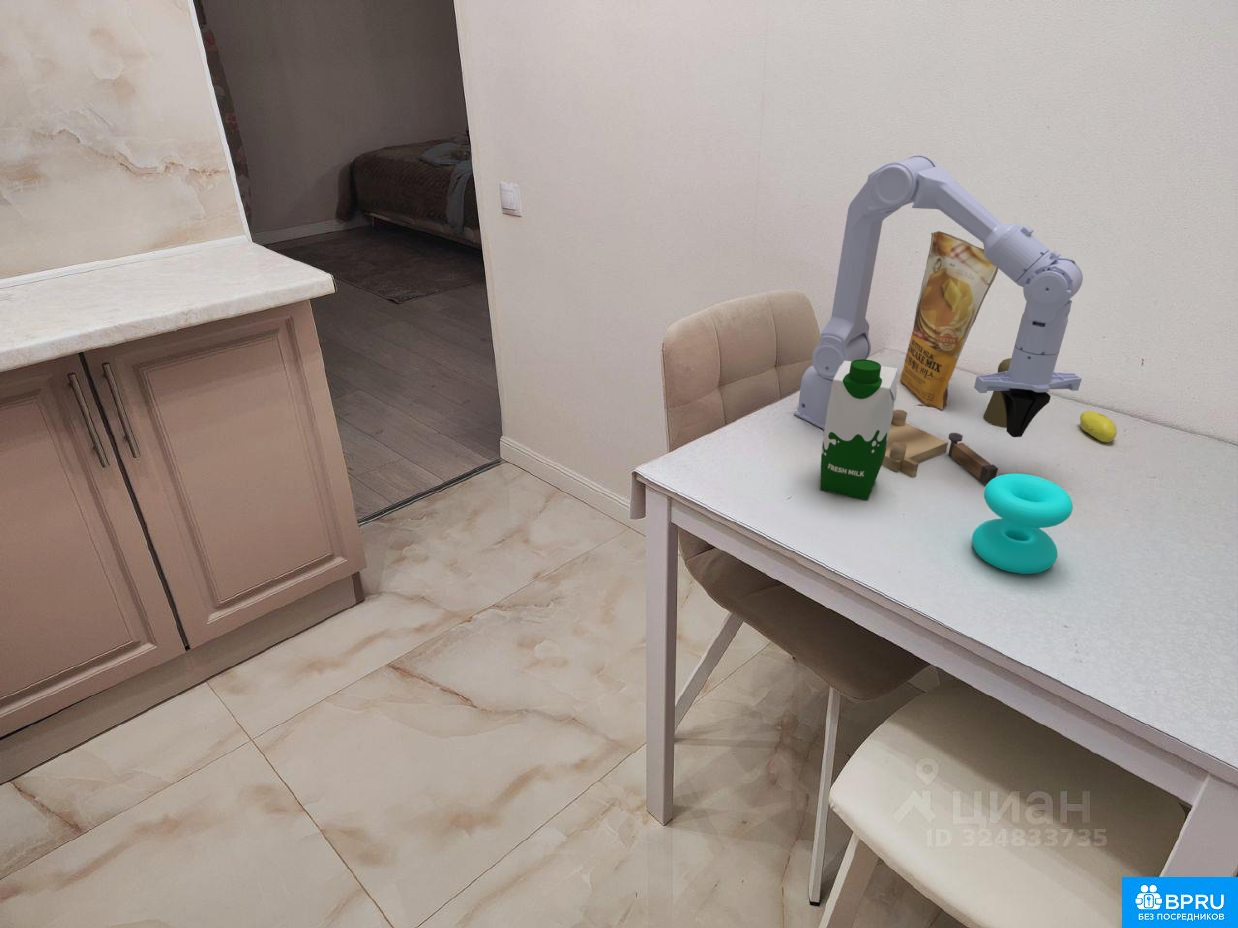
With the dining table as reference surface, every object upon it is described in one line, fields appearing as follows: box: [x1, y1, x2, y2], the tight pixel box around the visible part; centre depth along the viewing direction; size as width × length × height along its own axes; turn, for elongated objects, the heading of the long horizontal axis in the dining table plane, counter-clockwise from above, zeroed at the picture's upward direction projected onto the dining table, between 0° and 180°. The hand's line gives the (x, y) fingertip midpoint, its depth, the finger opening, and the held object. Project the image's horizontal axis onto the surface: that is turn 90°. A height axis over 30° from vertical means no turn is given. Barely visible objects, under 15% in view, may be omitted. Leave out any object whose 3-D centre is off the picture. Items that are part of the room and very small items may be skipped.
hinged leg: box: [950, 442, 999, 485], centre depth 121 cm, size 9×2×2 cm, turn 13°
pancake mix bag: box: [900, 230, 999, 411], centre depth 141 cm, size 7×19×28 cm, turn 6°
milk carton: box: [819, 359, 898, 501], centre depth 113 cm, size 9×9×20 cm
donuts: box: [971, 473, 1073, 575], centre depth 100 cm, size 10×10×10 cm
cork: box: [982, 357, 1012, 429], centre depth 135 cm, size 6×6×11 cm
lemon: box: [1079, 410, 1118, 443], centre depth 131 cm, size 4×8×4 cm, turn 179°
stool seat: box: [881, 409, 963, 478], centre depth 126 cm, size 13×13×4 cm
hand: (1013, 434), depth 117 cm, fingers closed
